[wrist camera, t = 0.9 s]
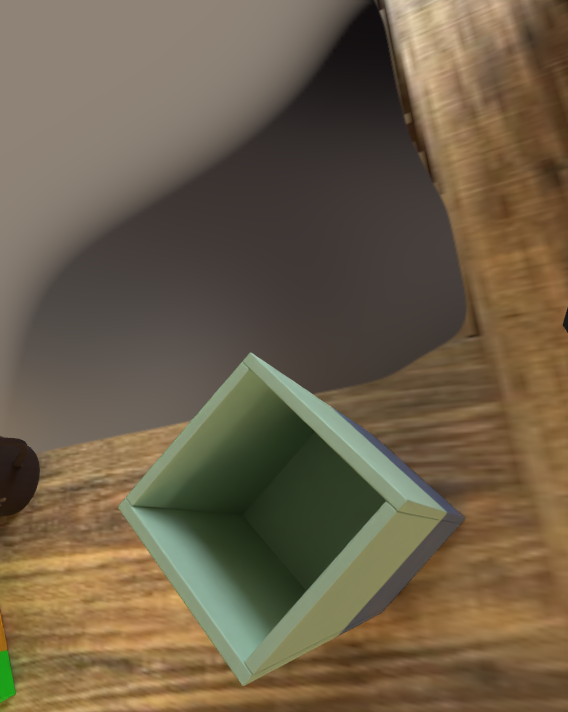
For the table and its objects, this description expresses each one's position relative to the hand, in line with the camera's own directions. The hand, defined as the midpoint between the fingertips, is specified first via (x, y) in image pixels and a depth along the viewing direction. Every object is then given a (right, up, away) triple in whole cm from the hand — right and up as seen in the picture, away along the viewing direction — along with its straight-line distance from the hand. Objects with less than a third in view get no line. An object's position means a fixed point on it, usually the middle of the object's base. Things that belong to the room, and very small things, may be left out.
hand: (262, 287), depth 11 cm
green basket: (+3, -10, +16) cm, 19 cm away
